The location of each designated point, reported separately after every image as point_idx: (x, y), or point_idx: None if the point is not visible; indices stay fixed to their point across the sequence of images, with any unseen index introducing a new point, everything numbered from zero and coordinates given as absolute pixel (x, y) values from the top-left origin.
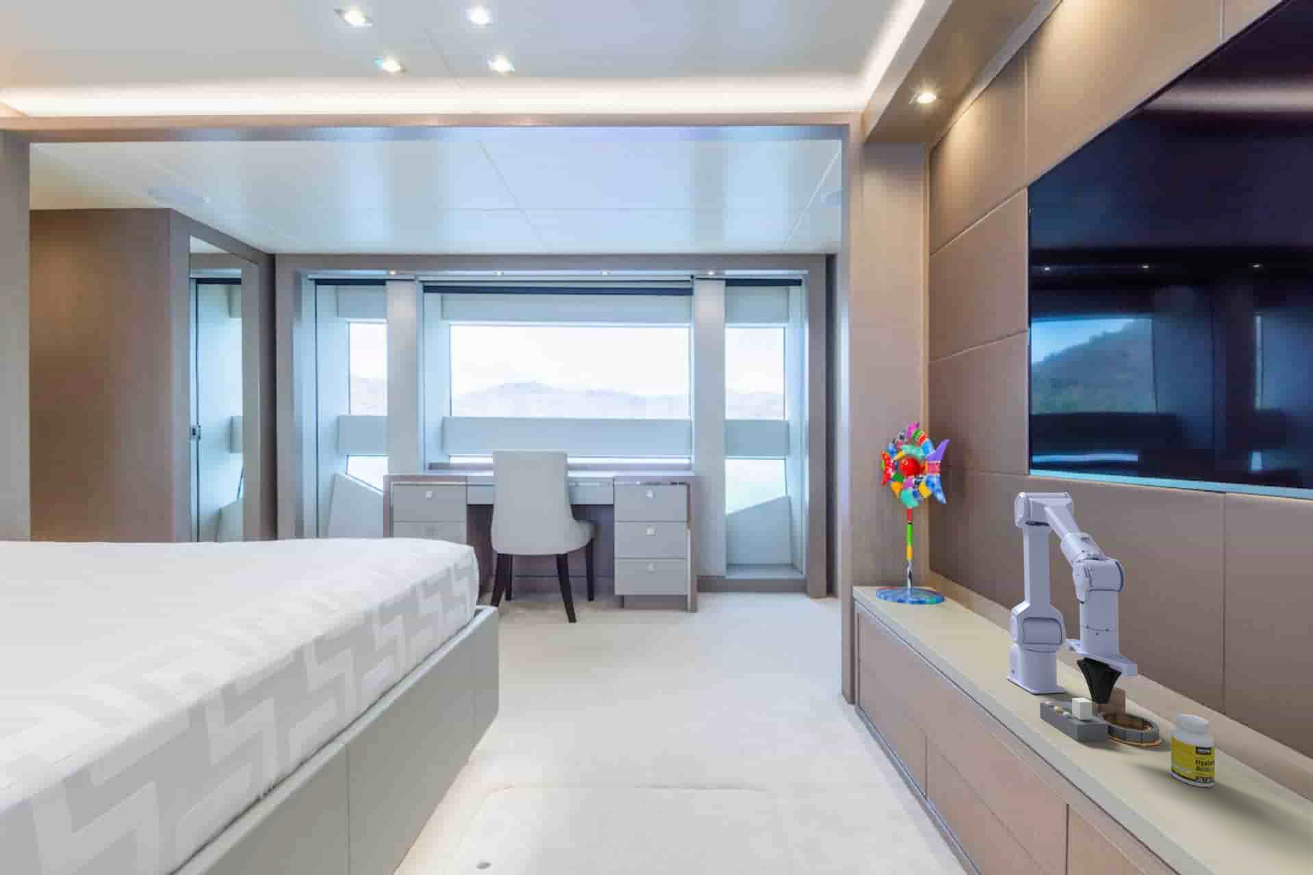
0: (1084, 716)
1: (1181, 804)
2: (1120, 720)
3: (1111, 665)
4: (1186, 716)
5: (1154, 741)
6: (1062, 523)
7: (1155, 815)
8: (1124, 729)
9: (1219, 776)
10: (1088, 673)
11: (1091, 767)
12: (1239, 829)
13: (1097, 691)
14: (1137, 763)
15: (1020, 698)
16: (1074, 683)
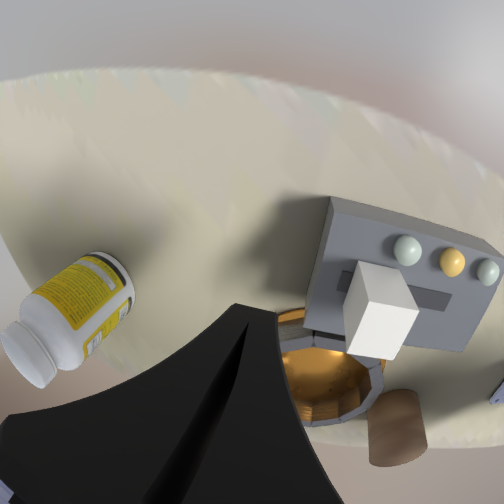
0: (354, 284)
1: (45, 170)
2: (352, 394)
3: (3, 494)
4: (29, 368)
5: None
6: None
7: (33, 95)
8: None
9: (120, 333)
10: (203, 459)
11: (175, 93)
12: (10, 194)
13: (190, 344)
14: (172, 240)
15: None
16: (486, 428)
